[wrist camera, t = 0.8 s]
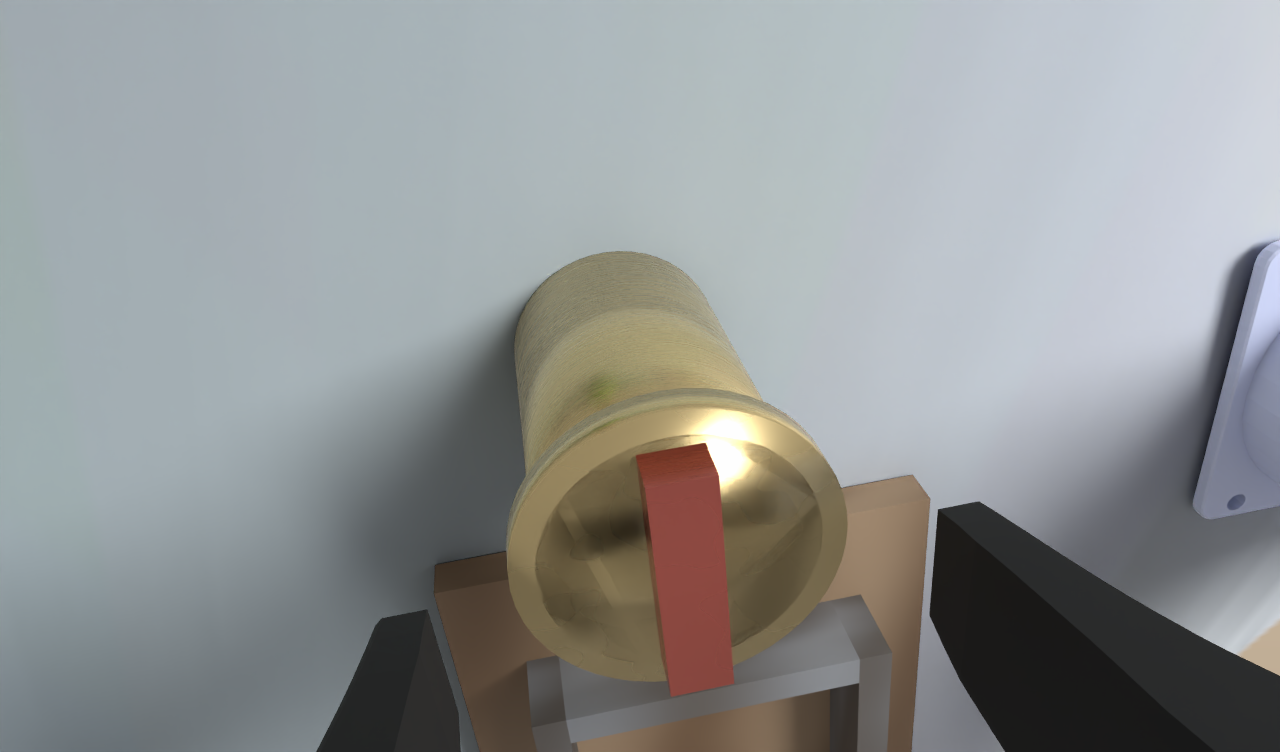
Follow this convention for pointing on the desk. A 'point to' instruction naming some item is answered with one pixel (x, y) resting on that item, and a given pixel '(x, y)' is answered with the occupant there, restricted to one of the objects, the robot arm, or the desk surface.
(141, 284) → the desk surface
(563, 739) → the board
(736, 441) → the cylinder
